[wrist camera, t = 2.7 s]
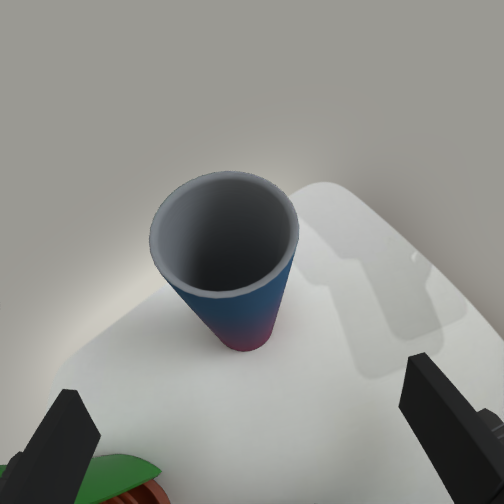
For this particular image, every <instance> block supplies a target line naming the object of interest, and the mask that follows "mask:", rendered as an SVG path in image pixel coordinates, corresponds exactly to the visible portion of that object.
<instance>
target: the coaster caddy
mask: <svg viewBox="0 0 504 504" xmlns="http://www.w3.org/2000/svg"><path fill="white" fill-rule="evenodd" d="M6 466H7V465H0V477H2V476H1V475H2V473H3V471H4V470H6ZM161 472H162V471H161V470H160V469H159V468H157V467H156V466H154V465H153V464H151V463H149V462H147V461H145V460H143V459H141V458H138V457H135V456H131V455H124V454H113V455H107V456H101V457H95V458H92V459H91V461H90V464H89V466H88V469H87V471H86V474H85V476H84V479H83V481H82V484H81V486H80V489H79V492H78V494H77V497H76V500H75V502H74V504H170V501H169V499H168V497H167V495H166V493H165V492H164V490H163V489H162V488H161V487H160V485H159V484H158V483H157V482H156V481H154V480H153V478H155V477H157V476H158V475H159V474H160V473H161Z"/></svg>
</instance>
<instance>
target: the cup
mask: <svg viewBox="0 0 504 504" xmlns="http://www.w3.org/2000/svg"><path fill="white" fill-rule="evenodd" d="M298 239H299V223H298V218H297V213H296V211H295V209H294V207H293V205H292V203H291V201H290V200H289V198H288V197H287V196H286V195H285V193H284V192H283V191H281V190H280V189H279V188H278V187H277V186H276V185H274V184H272V183H271V182H269V181H268V180H266V179H264V178H261V177H259V176H256V175H253V174H250V173H245V172H237V171H223V172H214V173H210V174H206V175H202V176H199V177H197V178H195V179H192V180H190V181H188V182H187V183H185V184H183V185H182V186H180V187H178V188H177V189H176V190H175V191H174V192H172V193H171V194H170V195H169V196H168V197H167V198H166V199H165V201H164V202H163V203H162V204H161V205H160V207H159V209H158V211H157V212H156V214H155V216H154V218H153V222H152V224H151V227H150V236H149V245H150V253H151V256H152V258H153V261H154V264H155V265H156V267H157V269H158V270H159V272H160V273H161V275H162V276H163V277H164V278H165V279H166V280H167V282H168V283H169V284H170V285H171V286H172V287H173V289H174V290H175V291H176V292H177V293H178V294H179V295H180V297H181V298H182V299H183V300H184V301H185V302H186V303H187V304H188V305H189V307H190V308H191V309H192V310H193V311H194V312H195V313H196V314H197V315H198V316H199V318H200V319H201V320H202V321H203V322H204V323H205V324H206V325H207V326H208V327H209V328H210V329H211V330H212V332H213V333H214V334H215V335H216V336H217V337H218V338H219V339H220V340H221V341H222V342H223V343H224V344H225V345H226V346H228V347H230V348H231V349H234V350H237V351H251V350H255V349H257V348H259V347H261V346H262V345H263V344H264V343H265V342H266V341H267V340H268V339H269V337H270V335H271V333H272V330H273V327H274V323H275V320H276V317H277V313H278V310H279V306H280V303H281V300H282V296H283V293H284V289H285V286H286V282H287V279H288V275H289V272H290V268H291V265H292V261H293V257H294V254H295V250H296V247H297V243H298Z"/></svg>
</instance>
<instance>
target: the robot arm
mask: <svg viewBox="0 0 504 504" xmlns="http://www.w3.org/2000/svg"><path fill="white" fill-rule="evenodd" d="M399 409H400V410H401V412H402V414H403V415H404V417H405V418H406V420H407V422H408V423H409V425H410V427H411V428H412V430H413V432H414V433H415V435H416V437H417V439H418V440H419V442H420V444H421V445H422V447H423V449H424V450H425V452H426V454H427V456H428V457H429V459H430V461H431V463H432V464H433V466H434V468H435V469H436V471H437V473H438V475H439V477H440V478H441V480H442V482H443V484H444V485H445V487H446V489H447V491H448V493H449V494H450V496H451V498H452V500H453V502H454V504H504V423H503V422H502V420H501V419H500V418H499V417H498V416H497V415H496V414H495V413H493V412H491V411H489V410H488V409H486V408H484V409H482V410H480V411H478V412H476V411H475V409H474V408H473V407H472V406H471V405H470V403H469V402H468V401H467V400H466V399H465V398H464V396H463V395H462V394H461V393H460V392H459V391H458V389H457V388H456V387H455V386H454V385H453V384H452V383H451V381H450V380H449V379H448V378H447V377H446V376H445V375H444V373H443V372H442V371H441V370H440V369H439V368H438V367H437V366H436V364H435V363H434V362H433V361H432V360H431V359H430V358H429V357H428V355H427V354H426V353H425V352H424V353H420V354H417V355H413V356H410V357H408V362H407V368H406V374H405V379H404V384H403V389H402V393H401V398H400V402H399ZM100 437H101V435H100V433H99V431H98V429H97V428H96V426H95V424H94V422H93V420H92V419H91V417H90V415H89V413H88V411H87V409H86V407H85V405H84V403H83V401H82V399H81V397H80V395H79V393H78V391H77V390H68V389H62V391H61V392H60V394H59V395H58V397H57V398H56V400H55V402H54V403H53V405H52V406H51V408H50V409H49V411H48V412H47V414H46V415H45V417H44V419H43V420H42V422H41V423H40V425H39V427H38V428H37V430H36V431H35V433H34V435H33V437H32V438H31V440H30V441H29V443H28V445H27V446H26V448H25V450H24V451H23V452H18V453H17V454H16V455H15V456H13V457H12V458H11V459H10V461H9V463H8V464H7V466H6V470H4V471H3V473H2V475H1V476H2V477H0V504H74V502H75V500H76V497H77V494H78V492H79V489H80V486H81V484H82V481H83V479H84V476H85V474H86V471H87V469H88V466H89V464H90V461H91V459H92V456H93V454H94V451H95V449H96V447H97V444H98V442H99V439H100Z"/></svg>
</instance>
